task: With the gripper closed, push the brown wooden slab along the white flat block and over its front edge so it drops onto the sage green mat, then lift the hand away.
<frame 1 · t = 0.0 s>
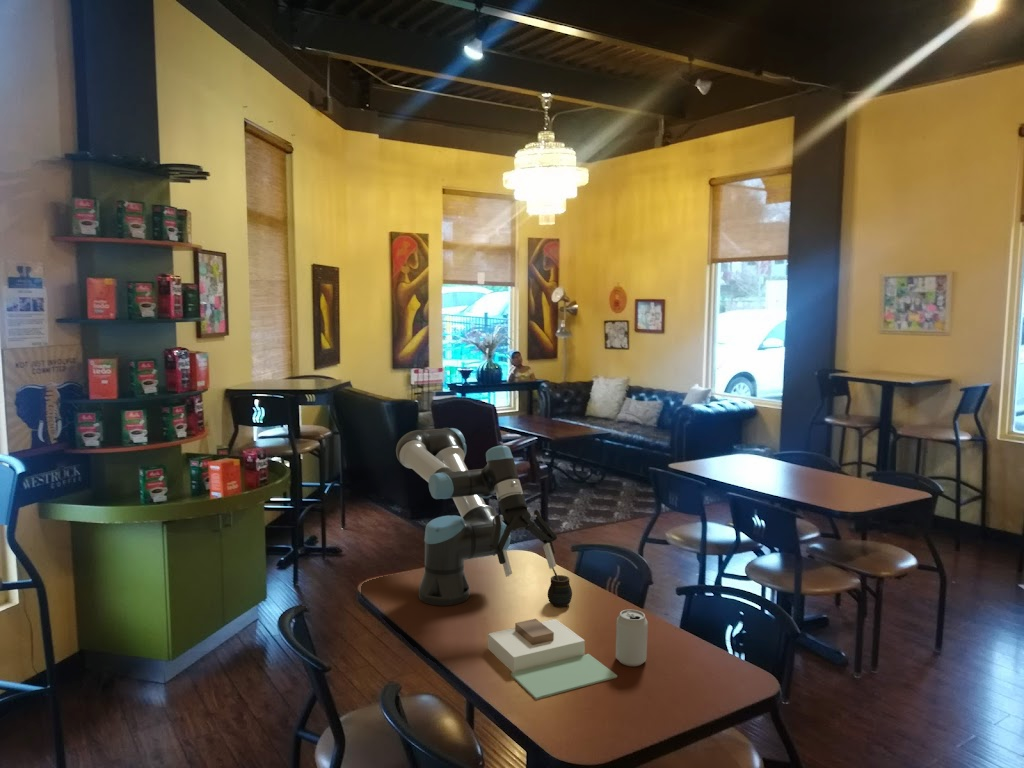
hand: (531, 571, 195), 15 cm above the table, tool tilted 35°, fingers open, 13 cm apart
brown wooden slab: (534, 635, 182), point 4 cm above the table, touching white flat block
white flat block: (535, 652, 181), on the table
mate gourd: (558, 604, 211), on the table
mat: (563, 676, 169), on the table
can: (630, 661, 178), on the table
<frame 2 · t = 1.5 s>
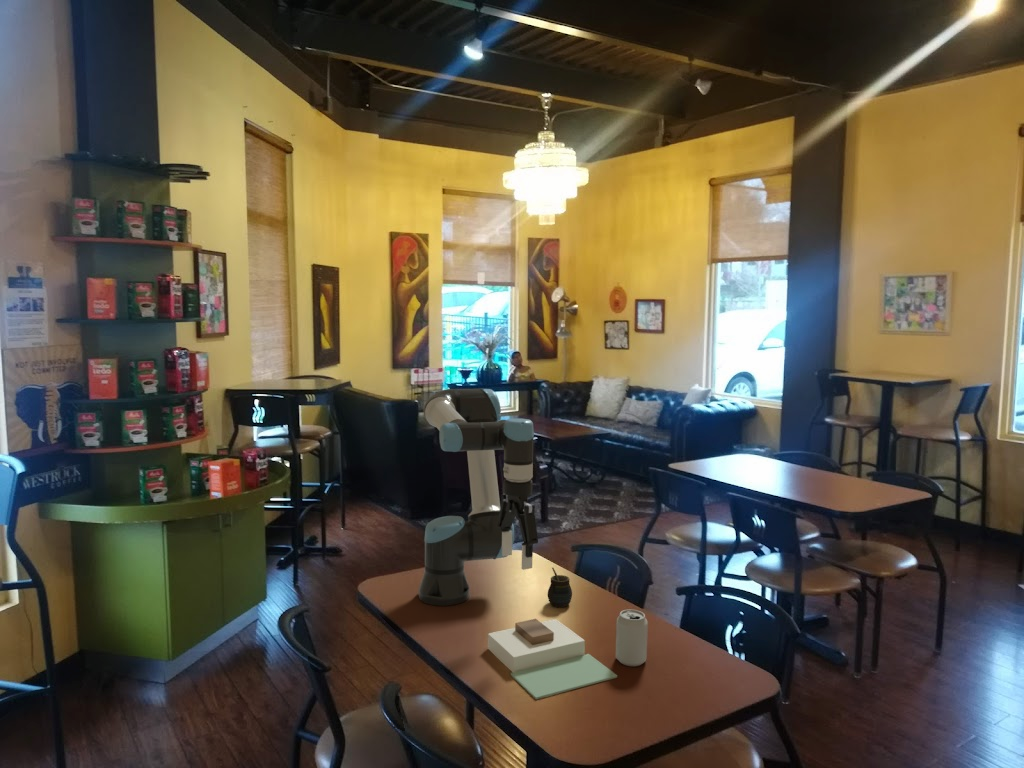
hand: (516, 561, 189), 20 cm above the table, tool pointing down, fingers open, 10 cm apart
nothing on the table moved.
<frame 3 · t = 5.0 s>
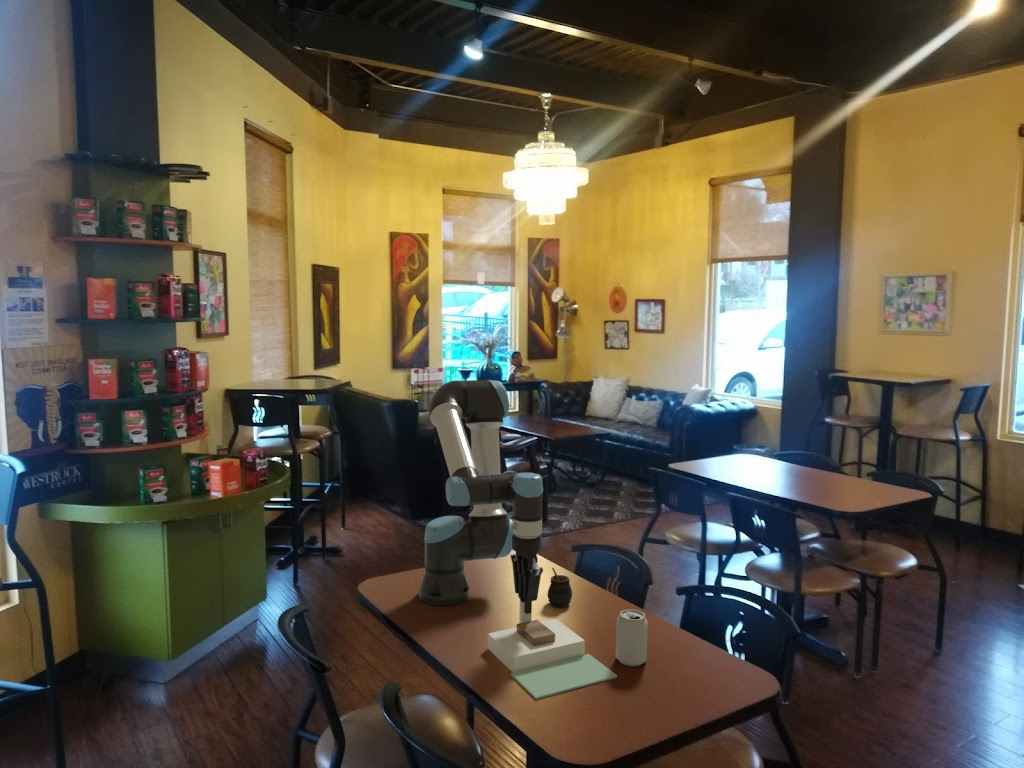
hand: (525, 623, 185), 5 cm above the table, tool pointing down, fingers closed
brown wooden slab: (535, 636, 181), point 4 cm above the table, touching gripper
everything else where it was.
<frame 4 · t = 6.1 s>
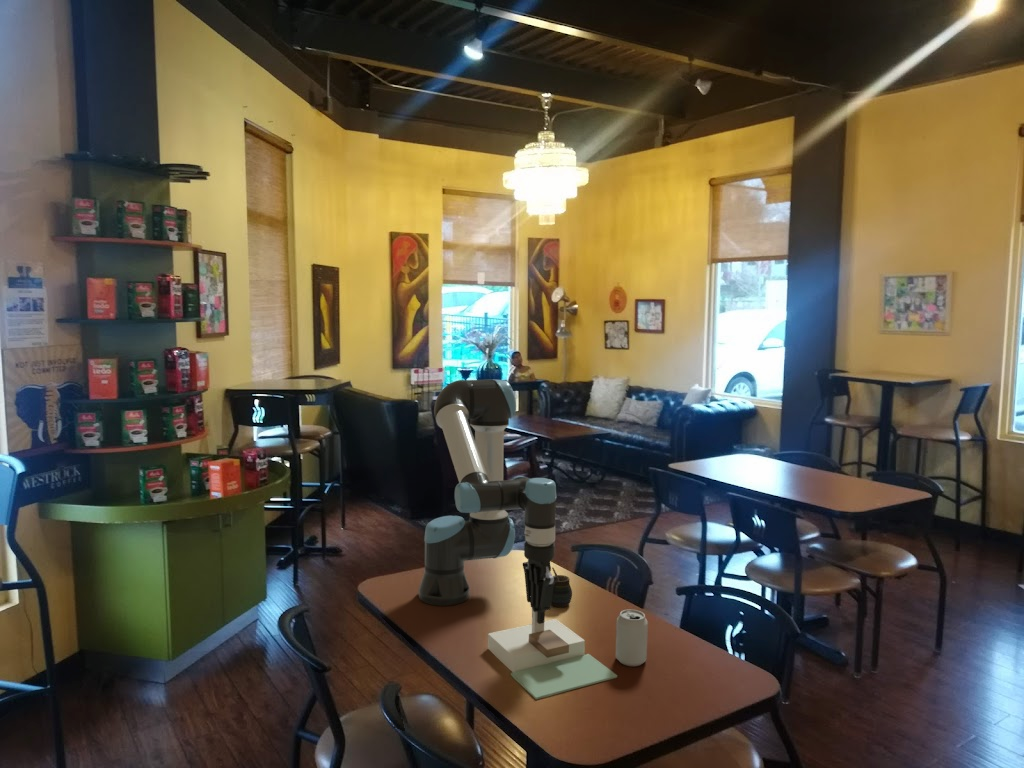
hand: (537, 633, 180), 5 cm above the table, tool pointing down, fingers closed
brown wooden slab: (548, 647, 175), point 4 cm above the table, touching gripper
everything else where it was.
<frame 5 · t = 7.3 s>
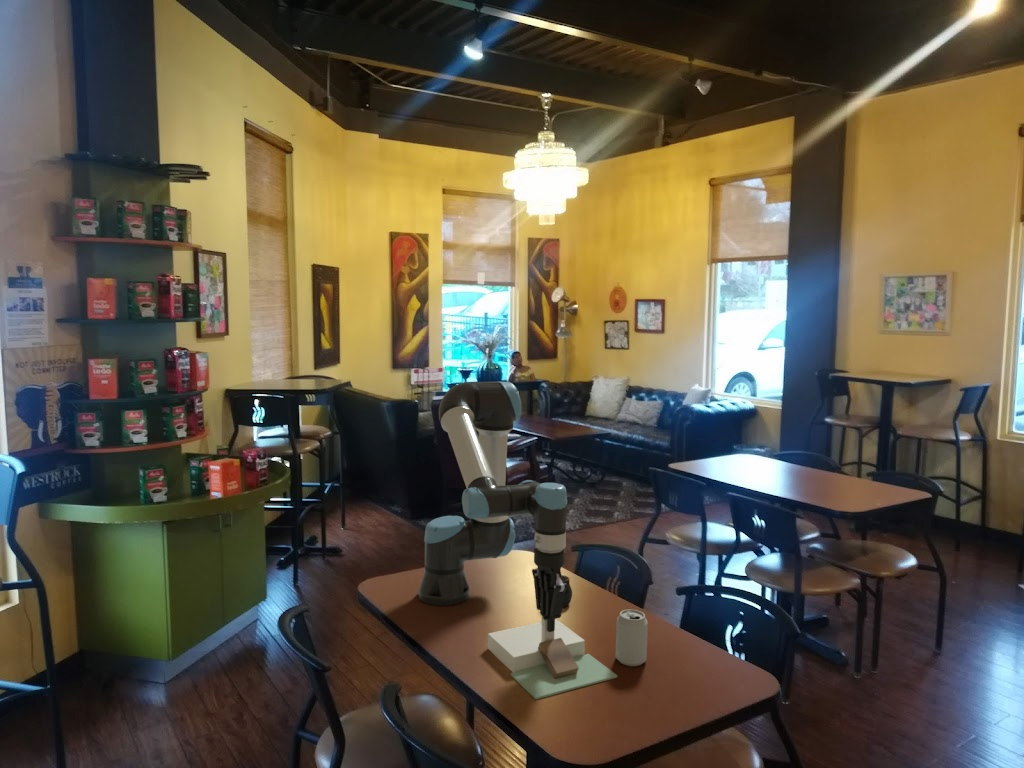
hand: (547, 642, 176), 5 cm above the table, tool pointing down, fingers closed
brown wooden slab: (557, 660, 172), point 2 cm above the table, tilted 26°, touching gripper
everything else where it was.
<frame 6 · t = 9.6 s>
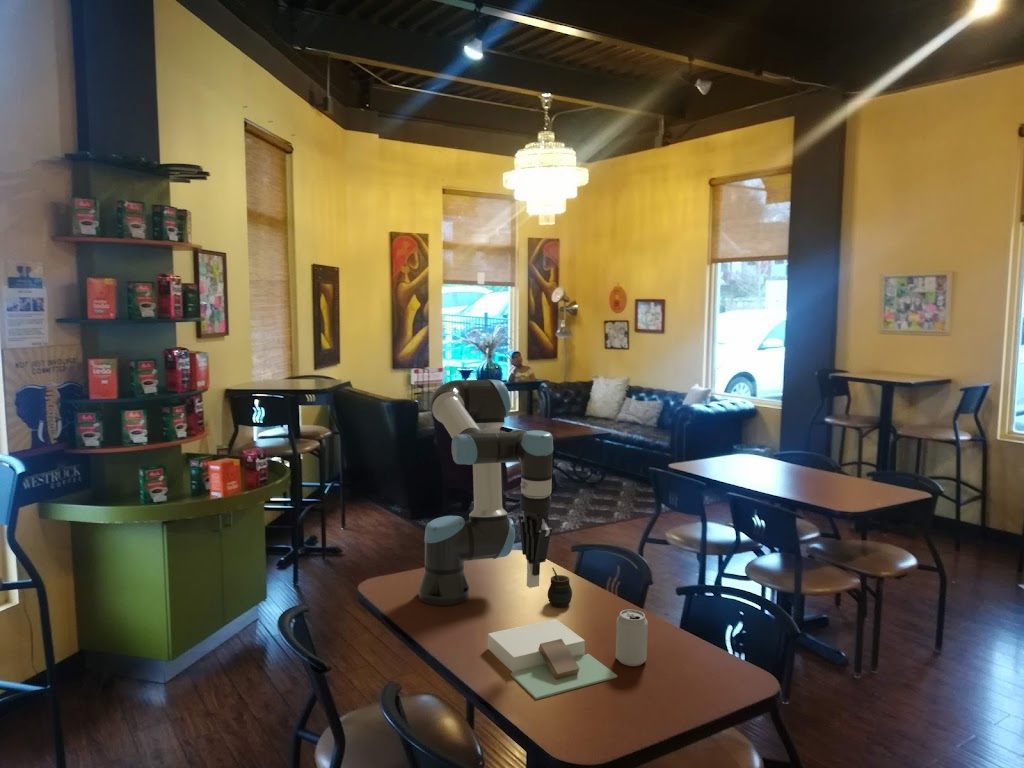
hand: (532, 585, 180), 17 cm above the table, tool pointing down, fingers closed
brown wooden slab: (557, 661, 172), point 2 cm above the table, tilted 25°, touching white flat block, mat
everything else where it was.
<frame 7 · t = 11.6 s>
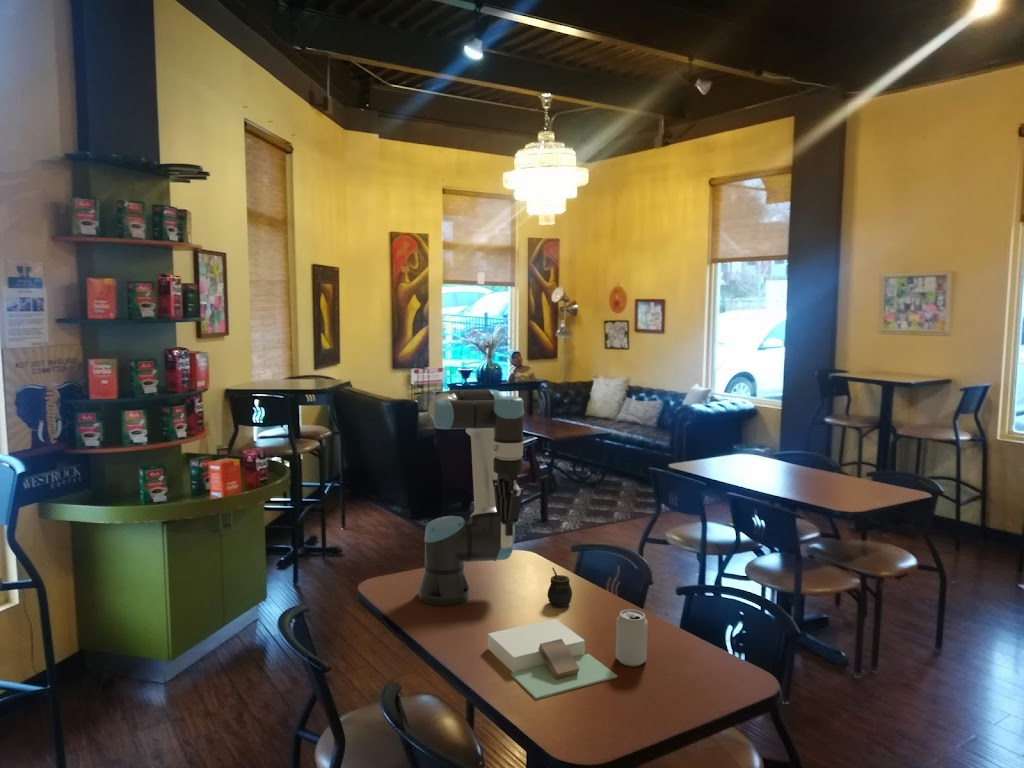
hand: (506, 546, 187), 24 cm above the table, tool pointing down, fingers closed
nothing on the table moved.
at the end: brown wooden slab inside the target area (2.9 cm from its centre), point 2.4 cm above the table; brown wooden slab point 2.4 cm above the table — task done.
